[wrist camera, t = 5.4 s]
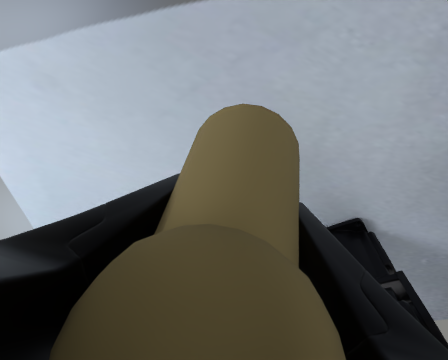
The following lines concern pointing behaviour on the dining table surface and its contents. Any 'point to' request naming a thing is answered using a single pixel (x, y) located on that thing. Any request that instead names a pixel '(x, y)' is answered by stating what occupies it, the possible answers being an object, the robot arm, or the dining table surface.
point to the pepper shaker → (213, 262)
